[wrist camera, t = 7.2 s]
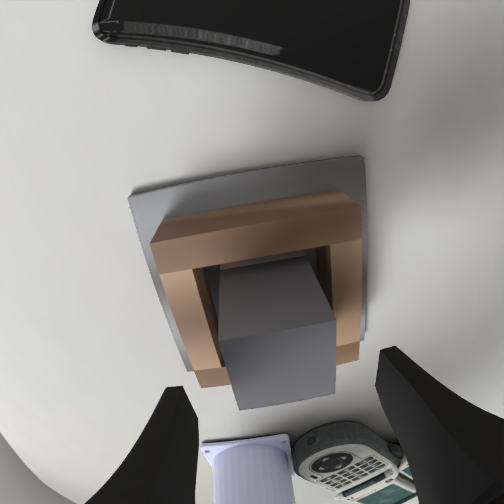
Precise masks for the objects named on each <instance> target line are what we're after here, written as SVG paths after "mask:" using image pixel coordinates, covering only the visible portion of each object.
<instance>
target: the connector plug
mask: <svg viewBox="0 0 504 504" xmlns="http://www.w3.org/2000/svg"><path fill="white" fill-rule="evenodd" d="M336 341H337V320H336V318H335V315H334V313H333V311H332V309H331V307H330V305H329V303H328V301H327V299H326V297H325V294H324V292H323V290H322V288H321V286H320V284H319V282H318V280H317V278H316V276H315V274H314V272H313V270H312V268H311V266H310V264H309V262H308V260H307V258H306V256H305V254H304V252H303V250H298V251H292V252H287V253H281V254H275V255H270V256H264V257H258V258H253V259H247V260H241V261H235V262H230V263H224V264H220V287H219V323H218V342H219V346H220V349H221V352H222V356H223V359H224V362H225V366H226V369H227V372H228V376H229V379H230V382H231V386H232V389H233V392H234V395H235V398H236V401H237V405H238V408H239V410H247V409H254V408H261V407H267V406H273V405H279V404H285V403H291V402H296V401H301V400H307V399H311V398H316V397H321V396H325V395H330V394H334V393H335V382H336Z"/></svg>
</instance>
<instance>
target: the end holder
mask: <svg viewBox="0 0 504 504" xmlns="http://www.w3.org/2000/svg"><path fill="white" fill-rule="evenodd" d="M128 201H129V205H130V209H131V212H132V216H133V219H134V223H135V226H136V229H137V233H138V236H139V239H140V243H141V246H142V249H143V252H144V255H145V258H146V262H147V265H148V268H149V271H150V274H151V277H152V280H153V283H154V285H155V288H156V291H157V294H158V297H159V300H160V303H161V305H162V308H163V311H164V314H165V316H166V319H167V322H168V324H169V327H170V329H171V332H172V335H173V337H174V340H175V342H176V345H177V347H178V350H179V352H180V355H181V357H182V360H183V362H184V365H185V367H186V369H187V372H189V371H194V372H195V374H196V377H197V379H198V382H199V384H200V386H201V388H207V387H216V386H224V385H231V382H230V379H229V376H228V372H227V369H226V366H225V362H224V359H223V356H222V352H221V349H220V346H219V342H218V323H219V287H220V264H224V263H230V262H235V261H241V260H247V259H253V258H258V257H264V256H270V255H275V254H281V253H287V252H292V251H298V250H303V252H304V254H305V256H306V258H307V260H308V262H309V264H310V266H311V268H312V270H313V272H314V274H315V276H316V278H317V280H318V282H319V284H320V286H321V288H322V290H323V292H324V294H325V297H326V299H327V301H328V303H329V305H330V307H331V309H332V311H333V313H334V315H335V318H336V320H337V341H336V365H340V364H344V363H348V362H352V361H356V360H358V357H359V343H360V341H363V340H364V334H365V317H366V296H367V203H366V181H365V165H364V157H362V156H352V157H343V158H335V159H326V160H319V161H311V162H303V163H296V164H289V165H283V166H276V167H270V168H263V169H257V170H251V171H245V172H239V173H234V174H228V175H223V176H217V177H212V178H207V179H202V180H197V181H192V182H187V183H182V184H177V185H173V186H168V187H164V188H159V189H155V190H150V191H146V192H142V193H137V194H133V195H130V196H129V197H128Z"/></svg>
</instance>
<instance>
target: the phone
mask: <svg viewBox="0 0 504 504" xmlns="http://www.w3.org/2000/svg"><path fill="white" fill-rule="evenodd" d="M409 4H410V0H100V1H99V4H98V6H97V9H96V12H95V15H94V18H93V23H92V30H93V33H94V35H95V36H96V37H97V38H98V39H100V40H101V41H103V42H106V43H109V44H116V45H125V46H130V47H137V46H141V47H147V48H148V49H156V50H164V51H166V49H167V50H171V52H176V53H183V54H189V53H194V54H199V55H205V56H210V57H216V58H221V59H225V60H230V61H235V62H239V63H243V64H248V65H252V66H256V67H260V68H264V69H267V70H271V71H275V72H278V73H282V74H285V75H289V76H292V77H295V78H299V79H302V80H305V81H308V82H311V83H314V84H317V85H320V86H323V87H326V88H329V89H332V90H335V91H337V92H340V93H343V94H345V95H348V96H351V97H353V98H356V99H358V100H362V101H378V100H380V99H382V98H384V97H385V96H386V95H387V94H388V92H389V90H390V87H391V84H392V80H393V76H394V72H395V68H396V64H397V60H398V55H399V51H400V47H401V43H402V38H403V34H404V29H405V24H406V19H407V15H408V10H409Z"/></svg>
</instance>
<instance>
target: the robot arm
mask: <svg viewBox="0 0 504 504" xmlns="http://www.w3.org/2000/svg"><path fill="white" fill-rule="evenodd" d="M375 387H376V390H377V393H378V396H379V399H380V402H381V405H382V408H383V410H384V412H385V414H386V416H387V418H388V420H389V422H390V425H391V427H392V429H393V431H394V433H395V435H396V437H397V439H398V441H399V443H400V445H401V447H402V450H403V452H404V454H405V457H406V459H407V462H408V465H409V468H410V471H411V475H412V478H413V481H414V485H415V489H416V492H417V496H418V500H419V504H504V419H503V418H500V417H498V416H496V415H494V414H491V413H489V412H487V411H485V410H483V409H481V408H479V407H477V406H475V405H473V404H472V403H470V402H468V401H466V400H465V399H463V398H462V397H460V396H458V395H457V394H455V393H454V392H453V391H451V390H450V389H448V388H447V387H445V386H444V385H443V384H441V383H440V382H439V381H437V380H436V379H435V378H434V377H432V376H431V375H430V374H428V373H427V372H426V371H425V370H423V369H422V368H421V367H420V366H419V365H417V364H416V363H415V362H414V361H413V360H411V359H410V358H409V357H408V356H407V355H406V354H404V353H403V352H402V351H401V350H400V349H399V348H397V347H396V346H392V347H389V348H385V349H382V350H380V355H379V363H378V370H377V376H376V383H375ZM198 448H199V430H198V417H197V415H196V413H195V411H194V409H193V407H192V405H191V403H190V401H189V399H188V397H187V394H186V392H185V390H184V388H183V386H176V387H167V388H166V389H165V390H164V392H163V394H162V396H161V398H160V400H159V402H158V404H157V406H156V408H155V410H154V412H153V414H152V416H151V417H150V419H149V421H148V423H147V425H146V426H145V428H144V430H143V432H142V433H141V435H140V437H139V438H138V440H137V441H136V443H135V445H134V446H133V448H132V449H131V451H130V452H129V454H128V455H127V457H126V458H125V460H124V461H123V462H122V464H121V465H120V466H119V468H118V469H117V470H116V471H115V473H114V474H113V475H112V476H111V477H110V478H109V480H108V481H107V482H106V483H105V484H104V485H103V486H102V487H101V488H100V490H99V491H98V492H97V493H96V494H94V495H93V496H92V497H91V498H90V499H89V500H88V501H87V502H86V503H85V504H195V486H196V473H197V461H198ZM200 449H201V451H202V452H203V454H204V456H205V457H206V459H207V461H208V462H209V464H210V465H211V467H212V468H213V504H296V502H295V496H294V490H293V484H292V478H291V476H293V475H294V474H295V473H294V468H293V460H292V453H291V447H290V440H289V435H287V434H279V435H273V436H266V437H260V438H252V439H244V440H236V441H226V442H216V443H204V444H201V445H200Z"/></svg>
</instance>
